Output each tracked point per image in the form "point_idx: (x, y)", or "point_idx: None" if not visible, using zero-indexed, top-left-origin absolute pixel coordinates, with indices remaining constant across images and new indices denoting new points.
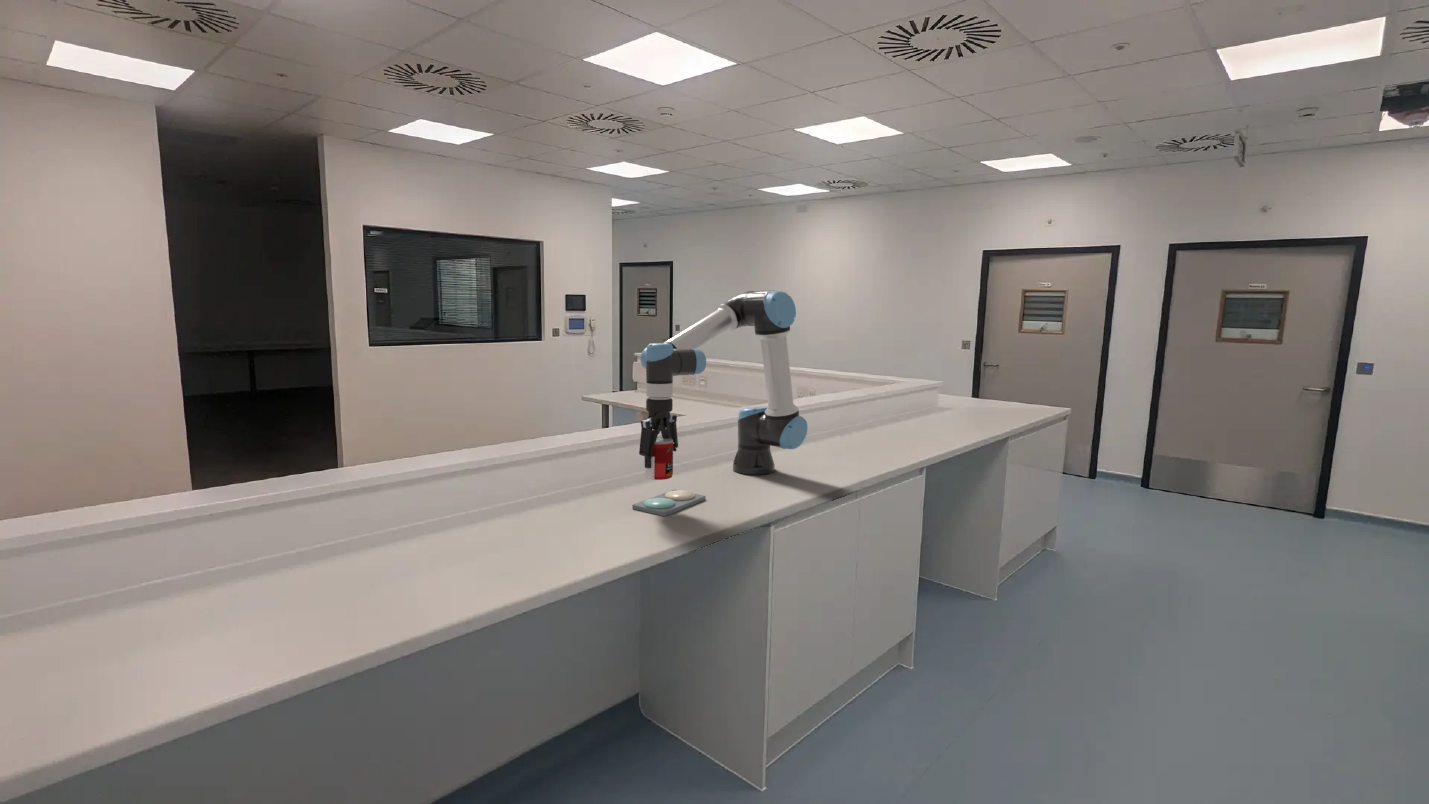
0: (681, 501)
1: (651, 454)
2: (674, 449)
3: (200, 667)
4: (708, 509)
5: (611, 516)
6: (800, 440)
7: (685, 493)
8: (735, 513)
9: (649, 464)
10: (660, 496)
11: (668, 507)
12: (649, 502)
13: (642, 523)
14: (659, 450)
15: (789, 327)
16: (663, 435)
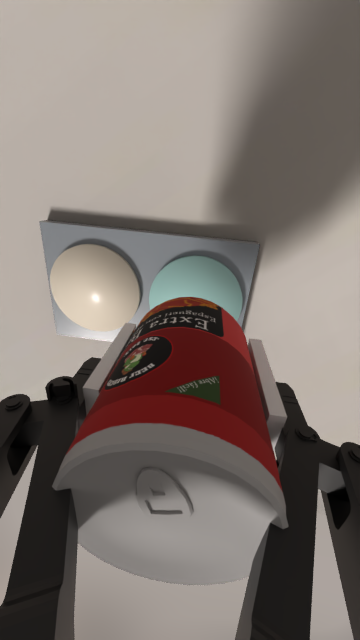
0: (135, 258)
1: (309, 436)
2: (63, 390)
3: None
4: (122, 150)
5: (312, 362)
6: None
7: (75, 282)
8: (99, 3)
9: (285, 397)
10: None
11: (214, 259)
12: None
13: (344, 265)
14: (264, 427)
15: None
16: (75, 550)
